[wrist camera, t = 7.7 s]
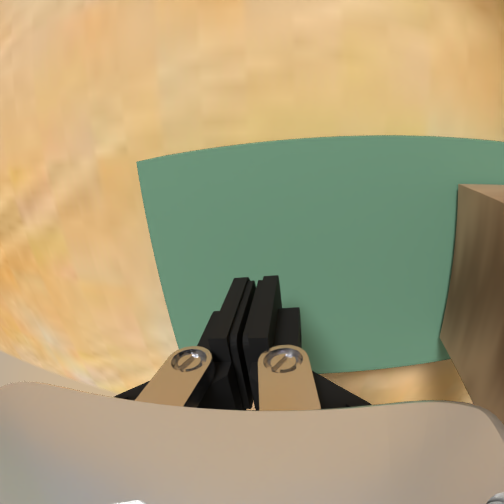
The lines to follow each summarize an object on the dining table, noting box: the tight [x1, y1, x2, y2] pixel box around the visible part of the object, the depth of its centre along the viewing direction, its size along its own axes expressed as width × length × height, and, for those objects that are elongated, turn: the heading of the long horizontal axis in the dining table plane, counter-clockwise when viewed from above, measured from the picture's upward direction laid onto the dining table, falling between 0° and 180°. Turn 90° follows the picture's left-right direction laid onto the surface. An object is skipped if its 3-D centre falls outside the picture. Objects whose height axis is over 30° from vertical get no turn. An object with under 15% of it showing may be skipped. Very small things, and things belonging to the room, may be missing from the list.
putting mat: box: [137, 135, 504, 374], centre depth 14 cm, size 12×34×3 cm, turn 96°
